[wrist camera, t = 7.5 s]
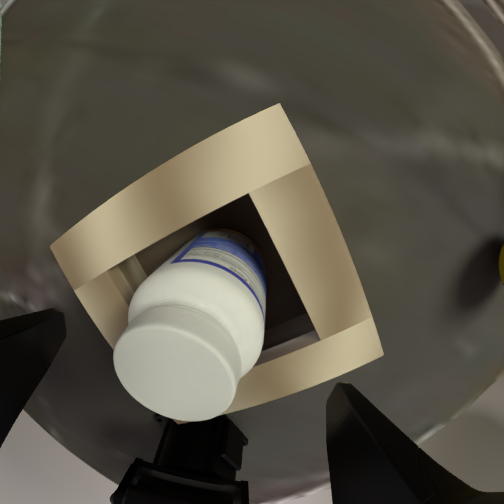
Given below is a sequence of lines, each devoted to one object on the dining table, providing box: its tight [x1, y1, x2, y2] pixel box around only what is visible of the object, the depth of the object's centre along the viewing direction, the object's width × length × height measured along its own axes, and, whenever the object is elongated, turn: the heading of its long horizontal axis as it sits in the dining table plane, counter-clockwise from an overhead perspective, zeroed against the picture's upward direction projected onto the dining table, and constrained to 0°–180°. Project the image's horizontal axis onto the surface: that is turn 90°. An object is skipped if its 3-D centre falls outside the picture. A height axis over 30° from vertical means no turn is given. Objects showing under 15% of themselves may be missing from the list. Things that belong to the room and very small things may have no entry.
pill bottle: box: [113, 229, 267, 421], centre depth 12 cm, size 5×5×10 cm
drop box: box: [50, 103, 384, 424], centre depth 15 cm, size 12×12×6 cm
